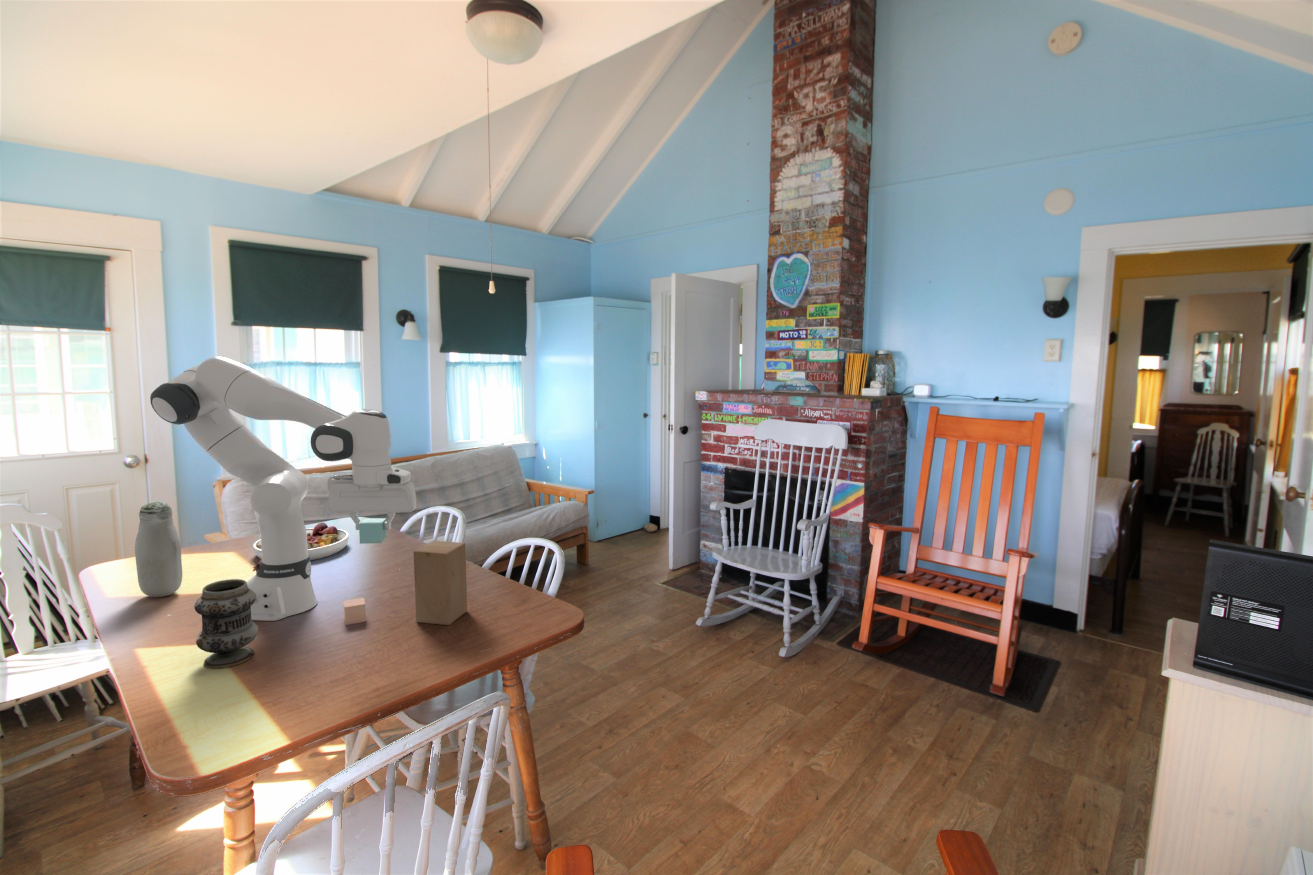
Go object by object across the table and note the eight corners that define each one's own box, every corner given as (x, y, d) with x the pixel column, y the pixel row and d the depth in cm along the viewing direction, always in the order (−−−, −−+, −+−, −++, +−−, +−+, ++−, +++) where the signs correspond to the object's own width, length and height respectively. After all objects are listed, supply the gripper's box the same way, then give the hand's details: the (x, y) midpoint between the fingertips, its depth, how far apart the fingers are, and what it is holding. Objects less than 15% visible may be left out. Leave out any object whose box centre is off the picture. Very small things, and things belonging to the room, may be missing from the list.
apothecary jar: (250, 667, 141) (244, 591, 138) (188, 674, 137) (181, 597, 135) (267, 643, 152) (262, 573, 150) (210, 649, 149) (204, 578, 146)
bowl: (321, 566, 209) (320, 544, 208) (233, 565, 209) (232, 543, 208) (364, 540, 238) (363, 521, 237) (287, 539, 239) (285, 519, 238)
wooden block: (449, 626, 164) (447, 553, 161) (415, 622, 165) (412, 550, 163) (467, 611, 173) (465, 542, 171) (435, 607, 175) (433, 540, 173)
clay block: (345, 625, 163) (344, 607, 163) (344, 618, 168) (343, 600, 167) (366, 621, 166) (365, 603, 165) (364, 614, 170) (363, 597, 169)
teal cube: (359, 543, 151) (359, 523, 150) (366, 537, 156) (365, 518, 155) (381, 543, 152) (380, 523, 151) (386, 537, 157) (386, 518, 156)
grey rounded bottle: (132, 603, 175) (123, 507, 172) (153, 589, 185) (145, 499, 182) (172, 600, 177) (163, 506, 174) (190, 587, 187) (183, 498, 184)
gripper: (322, 477, 147) (324, 533, 149) (411, 477, 151) (412, 532, 152) (331, 472, 153) (333, 526, 155) (417, 472, 157) (418, 525, 159)
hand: (373, 529), depth 154 cm, fingers closed on teal cube, 5 cm apart
